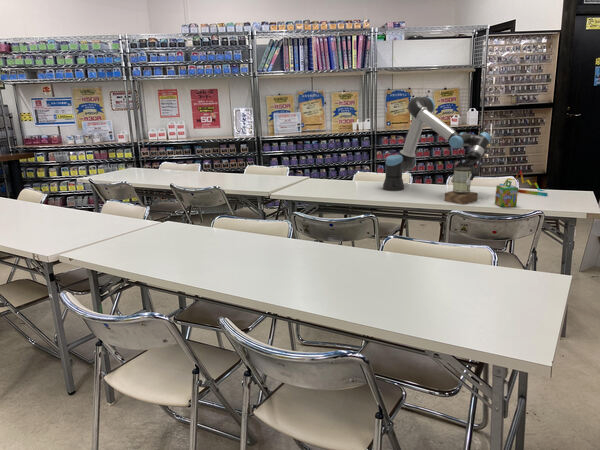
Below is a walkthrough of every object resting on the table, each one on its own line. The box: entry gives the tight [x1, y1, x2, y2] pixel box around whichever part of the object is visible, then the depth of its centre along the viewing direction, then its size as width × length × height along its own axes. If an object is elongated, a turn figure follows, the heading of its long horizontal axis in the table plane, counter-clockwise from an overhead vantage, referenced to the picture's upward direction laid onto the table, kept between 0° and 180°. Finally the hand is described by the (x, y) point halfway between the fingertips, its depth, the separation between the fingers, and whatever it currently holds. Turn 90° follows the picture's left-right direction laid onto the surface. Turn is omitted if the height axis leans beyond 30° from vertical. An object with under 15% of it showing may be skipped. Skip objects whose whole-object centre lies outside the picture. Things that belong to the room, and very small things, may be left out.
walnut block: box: [444, 190, 479, 205], centre depth 292 cm, size 14×14×5 cm
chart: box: [498, 169, 549, 197], centre depth 307 cm, size 30×3×15 cm, turn 43°
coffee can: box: [452, 166, 472, 192], centre depth 289 cm, size 10×10×14 cm
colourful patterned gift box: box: [494, 180, 519, 208], centre depth 277 cm, size 9×9×15 cm
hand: (459, 182), depth 288 cm, fingers closed on coffee can, 10 cm apart
